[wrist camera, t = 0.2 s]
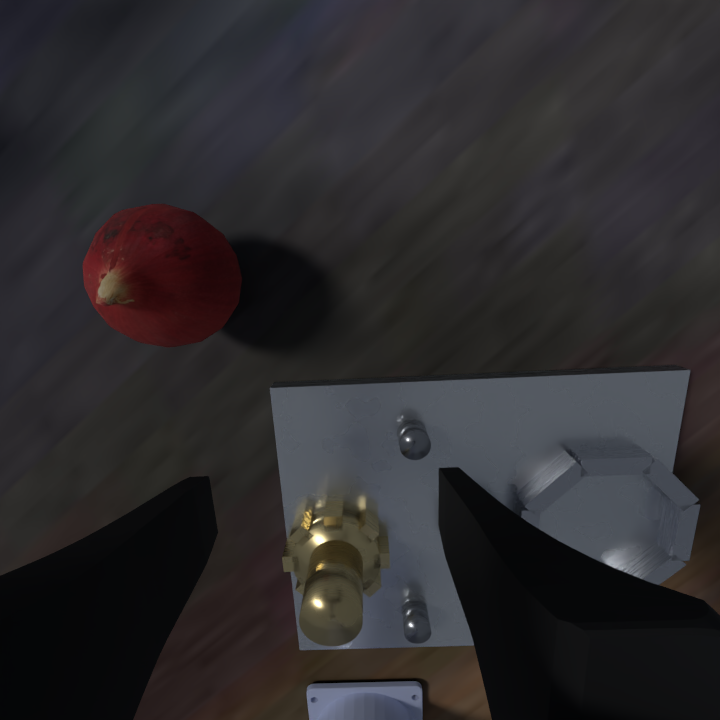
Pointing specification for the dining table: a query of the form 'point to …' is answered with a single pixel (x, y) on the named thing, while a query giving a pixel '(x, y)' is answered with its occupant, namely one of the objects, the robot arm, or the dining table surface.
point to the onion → (162, 275)
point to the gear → (335, 570)
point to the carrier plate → (488, 474)
